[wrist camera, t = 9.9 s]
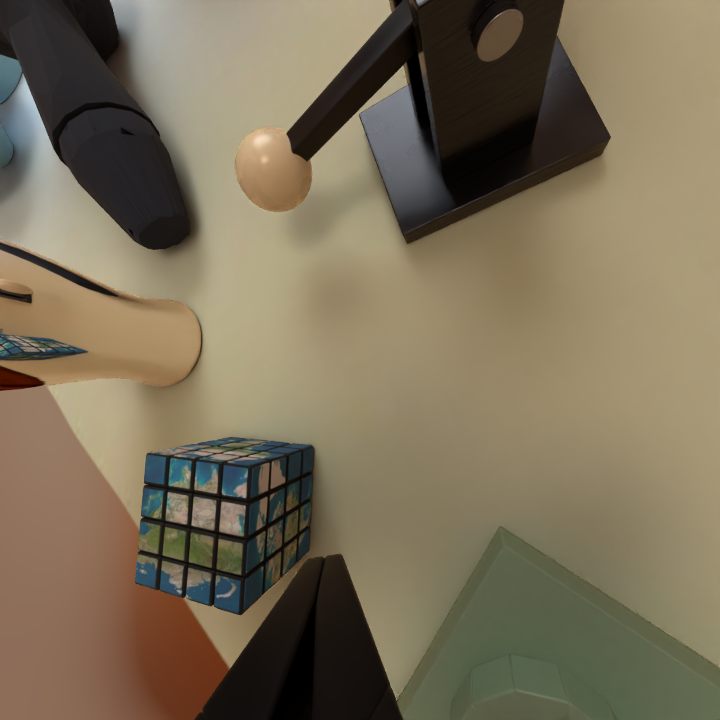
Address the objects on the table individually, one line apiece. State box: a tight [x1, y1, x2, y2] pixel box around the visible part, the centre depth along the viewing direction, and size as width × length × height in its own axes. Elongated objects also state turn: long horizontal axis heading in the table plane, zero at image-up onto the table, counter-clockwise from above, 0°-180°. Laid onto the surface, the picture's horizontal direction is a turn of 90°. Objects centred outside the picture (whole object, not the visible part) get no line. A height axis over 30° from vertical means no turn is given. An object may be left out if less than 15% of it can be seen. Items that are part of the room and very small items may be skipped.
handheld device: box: [0, 0, 190, 250], centre depth 25 cm, size 11×26×10 cm, turn 29°
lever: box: [235, 0, 417, 212], centre depth 14 cm, size 13×4×4 cm, turn 108°
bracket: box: [359, 0, 611, 244], centre depth 14 cm, size 10×8×10 cm
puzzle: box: [135, 437, 314, 615], centre depth 18 cm, size 6×6×6 cm
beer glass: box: [0, 238, 201, 391], centre depth 17 cm, size 7×7×15 cm
